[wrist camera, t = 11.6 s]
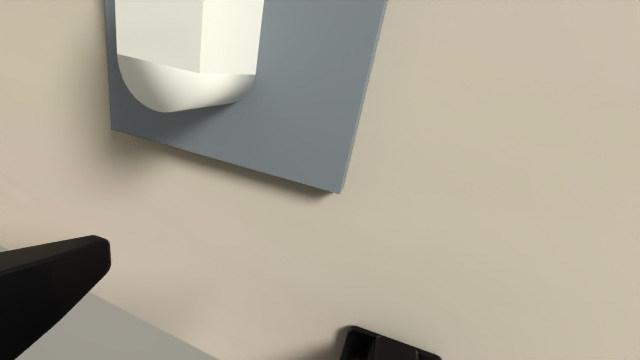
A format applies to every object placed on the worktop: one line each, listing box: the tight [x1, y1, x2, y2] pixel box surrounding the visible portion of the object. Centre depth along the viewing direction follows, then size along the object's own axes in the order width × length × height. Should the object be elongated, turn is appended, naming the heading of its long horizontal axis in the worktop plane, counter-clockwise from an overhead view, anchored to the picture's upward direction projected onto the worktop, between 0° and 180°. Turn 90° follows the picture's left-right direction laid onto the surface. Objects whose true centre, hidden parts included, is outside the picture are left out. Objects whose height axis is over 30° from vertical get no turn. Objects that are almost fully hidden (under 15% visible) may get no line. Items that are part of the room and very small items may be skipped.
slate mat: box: [104, 0, 388, 194], centre depth 17 cm, size 16×16×1 cm
